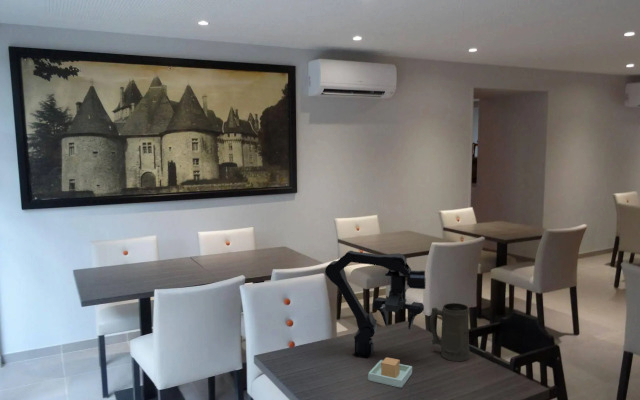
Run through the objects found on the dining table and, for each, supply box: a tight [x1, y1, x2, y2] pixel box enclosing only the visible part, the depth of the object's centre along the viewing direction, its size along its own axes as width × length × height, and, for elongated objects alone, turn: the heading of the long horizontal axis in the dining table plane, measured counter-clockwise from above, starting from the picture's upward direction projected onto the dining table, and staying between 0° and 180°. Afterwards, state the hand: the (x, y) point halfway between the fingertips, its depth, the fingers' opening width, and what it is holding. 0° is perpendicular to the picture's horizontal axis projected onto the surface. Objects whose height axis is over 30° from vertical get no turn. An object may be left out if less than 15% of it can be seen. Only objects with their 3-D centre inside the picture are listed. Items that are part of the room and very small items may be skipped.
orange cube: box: [381, 357, 401, 378], centre depth 168 cm, size 5×5×5 cm
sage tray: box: [367, 359, 413, 389], centre depth 168 cm, size 12×12×2 cm
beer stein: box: [428, 302, 471, 362], centre depth 185 cm, size 15×11×20 cm
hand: (397, 327), depth 183 cm, fingers open, 9 cm apart
